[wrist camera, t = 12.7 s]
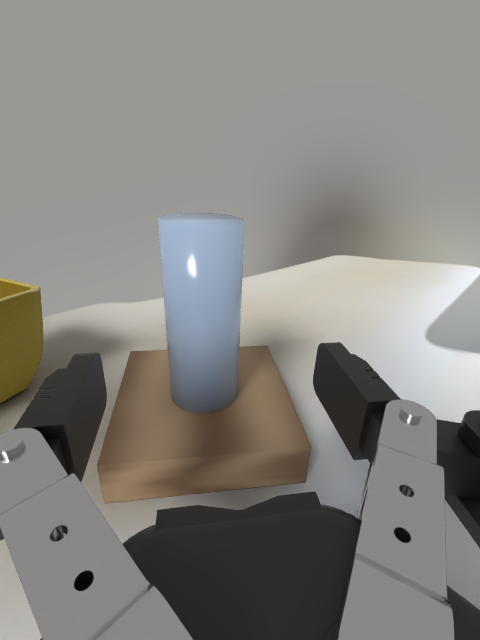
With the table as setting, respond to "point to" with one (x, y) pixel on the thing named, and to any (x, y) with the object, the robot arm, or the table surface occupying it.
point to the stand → (200, 434)
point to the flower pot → (19, 336)
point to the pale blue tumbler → (202, 307)
